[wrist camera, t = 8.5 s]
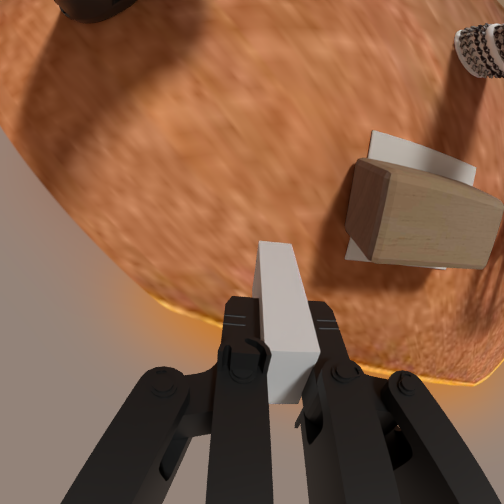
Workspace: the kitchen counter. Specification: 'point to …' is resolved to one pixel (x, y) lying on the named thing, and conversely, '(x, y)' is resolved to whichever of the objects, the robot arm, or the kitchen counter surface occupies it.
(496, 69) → the decorative candle
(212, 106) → the kitchen counter surface
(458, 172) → the mat
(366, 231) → the wooden block
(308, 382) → the robot arm
